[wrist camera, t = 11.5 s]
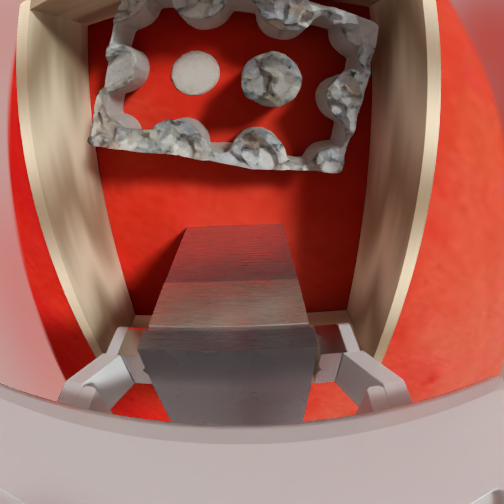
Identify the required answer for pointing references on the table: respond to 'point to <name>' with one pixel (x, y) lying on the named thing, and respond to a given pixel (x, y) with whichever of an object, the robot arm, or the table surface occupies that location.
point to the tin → (231, 330)
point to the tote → (91, 193)
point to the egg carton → (253, 82)
